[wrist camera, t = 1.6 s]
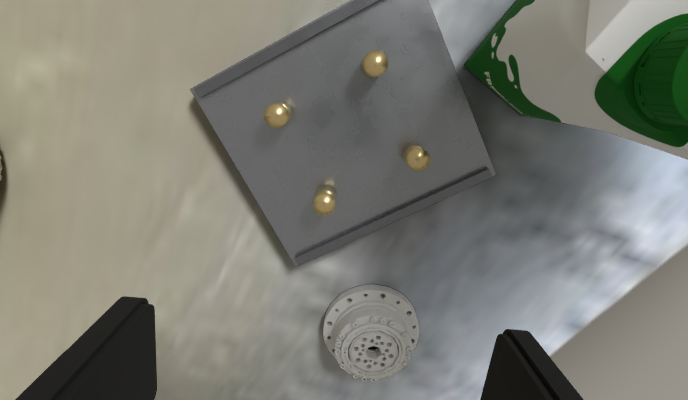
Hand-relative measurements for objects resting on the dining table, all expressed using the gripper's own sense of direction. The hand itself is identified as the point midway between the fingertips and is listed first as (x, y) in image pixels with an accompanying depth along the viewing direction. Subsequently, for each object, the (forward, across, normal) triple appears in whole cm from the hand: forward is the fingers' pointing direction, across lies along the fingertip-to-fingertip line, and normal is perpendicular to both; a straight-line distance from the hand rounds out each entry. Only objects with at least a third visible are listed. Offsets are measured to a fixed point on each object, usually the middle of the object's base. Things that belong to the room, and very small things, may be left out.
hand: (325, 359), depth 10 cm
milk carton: (+26, -15, -11) cm, 32 cm away
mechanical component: (+27, -6, +17) cm, 32 cm away
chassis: (+26, -1, -4) cm, 26 cm away
